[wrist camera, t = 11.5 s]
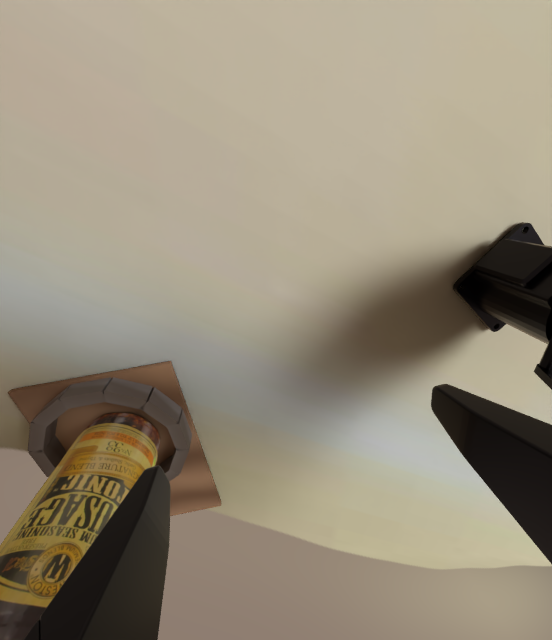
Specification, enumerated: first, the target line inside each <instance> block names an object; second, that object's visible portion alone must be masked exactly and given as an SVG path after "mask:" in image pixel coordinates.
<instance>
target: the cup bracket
mask: <svg viewBox="0 0 552 640" xmlns="http://www.w3.org/2000/svg"><path fill="white" fill-rule="evenodd" d="M8 394H9V395H10V397H11V398H12V399H13V401H14V402H15V404H16V405H17V406H18V408H19V409H20V411H21V412H22V414H23V415H24V416H25V418H26V419H27V421H28V422H29V424H30V433H29V444H28V451H29V454H30V455H31V456H32V458H33V459H34V460H35V462H36V463H37V464H38V466H39V467H40V468H41V470H42V471H43V472H44V474H45V475H46V476H47V477H49V476H50V475H51V474H52V472H53V471H54V470H55V468H56V467H57V466H58V464H59V463H60V461H61V460H62V459H63V457H64V456H65V454H66V453H67V451H68V450H69V449H70V447H71V446H72V444H73V443H74V442H75V440H76V439H77V437H78V436H79V435H80V434H81V433H82V432H83V431H84V430H85V429H86V428H87V427H88V426H89V425H90V424H91V423H92V422H93V421H95V420H96V419H98V418H99V417H101V416H102V415H105V414H107V413H113V412H114V413H121V412H122V413H132V414H137V415H139V416H140V417H144V418H145V419H146V420H148V421H150V422H151V423H152V424H153V425H154V426H155V427H156V429H157V430H158V432H159V434H160V438H161V439H160V442H161V445H160V449H159V453H158V457H157V462H156V465H155V466H158V465H159V466H161V468H162V469H163V471H164V473H165V475H166V476H167V478H168V480H169V482H170V487H171V496H170V516H173V515H178V514H183V513H187V512H192V511H197V510H202V509H207V508H212V507H216V506H221V500H220V497H219V494H218V491H217V488H216V486H215V483H214V480H213V477H212V474H211V472H210V469H209V466H208V463H207V461H206V458H205V455H204V452H203V449H202V447H201V444H200V441H199V438H198V435H197V433H196V430H195V427H194V424H193V421H192V419H191V416H190V413H189V410H188V407H187V405H186V402H185V399H184V396H183V393H182V391H181V388H180V385H179V382H178V379H177V377H176V374H175V371H174V368H173V365H172V363H171V361H167V362H162V363H156V364H151V365H145V366H139V367H134V368H128V369H123V370H117V371H111V372H106V373H100V374H95V375H89V376H84V377H78V378H72V379H67V380H61V381H56V382H50V383H44V384H39V385H33V386H28V387H22V388H16V389H12V390H10V391H9V392H8Z"/></svg>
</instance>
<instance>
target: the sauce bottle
mask: <svg viewBox="0 0 552 640" xmlns="http://www.w3.org/2000/svg"><path fill="white" fill-rule="evenodd" d="M160 439H161V438H160V434H159V432H158V430H157V429H156V427H155V426H154V425H153V424H152V423H151V422H150V421H148V420H146V419H145V418H144V417H140V416H139V415H137V414H132V413H122V412H121V413H114V412H113V413H107V414H105V415H102V416H101V417H99V418H98V419H96V420H95V421H93V422H92V423H91V424H90V425H89V426H88V427H87V428H86V429H85V430H84V431H83V432H82V433H81V434H80V435H79V436H78V437H77V439H76V440H75V442H74V443H73V444H72V446H71V447H70V449H69V450H68V451H67V453H66V454H65V456H64V457H63V459H62V460H61V461H60V463H59V464H58V466H57V467H56V468H55V470H54V471H53V472H52V474H51V475H50V476H49V478H48V479H47V481H46V482H45V483H44V485H43V486H42V488H41V489H40V490H39V492H38V493H37V495H36V496H35V497H34V499H33V500H32V501H31V503H30V504H29V506H28V507H27V509H26V510H25V511H24V513H23V514H22V515H21V517H20V518H19V520H18V521H17V523H16V524H15V525H14V527H13V528H12V529H11V531H10V532H9V534H8V535H7V537H6V538H5V539H4V541H3V542H2V544H1V545H0V640H24V638H25V637H26V635H27V634H28V633H29V631H30V630H31V628H32V627H33V626H34V624H35V623H36V621H38V620H40V616H41V615H42V613H43V612H44V610H45V609H46V608H47V606H48V605H49V603H50V602H51V601H52V599H53V598H54V596H55V595H56V593H57V592H58V591H59V589H60V588H61V586H62V585H63V584H64V582H65V581H66V579H67V578H68V577H69V575H70V574H71V572H72V571H73V570H74V568H75V567H76V565H77V564H78V563H79V561H80V560H81V558H82V557H83V556H84V554H85V553H86V551H87V550H88V548H89V547H90V546H91V544H92V543H93V541H94V540H95V539H96V537H97V536H98V534H99V533H100V532H101V530H102V529H103V527H104V526H105V525H106V523H107V522H108V520H109V519H110V518H111V516H112V515H113V513H114V512H115V511H116V509H117V508H118V506H119V505H120V504H121V502H122V501H123V499H124V498H125V496H126V495H127V494H128V492H129V491H130V489H131V488H132V487H133V485H134V484H135V482H136V481H137V480H138V478H139V477H140V475H141V474H142V473H143V471H144V470H145V469H147V468H150V467H154V466H155V465H156V462H157V457H158V453H159V449H160V445H161V442H160Z"/></svg>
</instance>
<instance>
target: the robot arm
mask: <svg viewBox="0 0 552 640" xmlns="http://www.w3.org/2000/svg"><path fill="white" fill-rule="evenodd" d="M523 228H524V229H523ZM522 229H523V231H522ZM461 285H462V287H461ZM460 287H461V288H460ZM453 289H454V291H455V292H456V293H457V294H458V295H459V297H460V298H461V299H462V300H463V301H464V302H465V303H466V304H467V306H468V307H469V308H470V309H471V310H472V311H473V312H474V313H475V315H476V316H477V317H478V318H479V319H480V320H481V321H482V322H483V324H484V325H485V326H486V327H487V328H488V329H489V330H491V331H493V332H496V331H498V330H500V329H501V328H502V327H503V326H504V325H506V324H508V325H510V326H512V327H514V328H516V329H518V330H520V331H522V332H524V333H526V334H528V335H530V336H532V337H534V338H536V339H538V340H540V341H542V342H544V343H546V344H548V345H547V348H546V350H545V352H544V354H543V357H542V359H541V361H540V363H539V364H537V366H536V368H535V370H534V372H535V373H536V374H537V375H538V376H539V377H540V378H541V379H542V380H543V381H544V382H545V383H546V384H547V385H548V386H549V387H550V388H551V389H552V247H551V246H545V245H544V244H543V242H542V241H541V239H540V238H539V236H538V234H537V233H536V231H535V230H534V228H533V226H532V225H531V224H530V223H523V222H522V223H519V224H518V225H517V226H516V227H515V228H513V229H512V230H511V231H510V232H509V233H508V234H507V235H506V236H505V237H504V238H503V239H502V240H501V241H500V242H498V243H497V244H496V245H495V246H494V247H493V248H492V249H491V250H490V251H489V252H488V253H487V254H486V255H485V256H483V257H482V258H481V259H480V260H479V261H478V262H477V263H476V264H475V265H474V266H473V267H472V268H471V269H470V270H468V271H467V272H466V273H465V274H464V275H463V276H462V277H461V278H460V279H459V280H458V281H457V282H456V283H455V284H454V286H453ZM431 407H432V410H433V412H434V414H435V415H436V417H437V418H438V420H439V421H440V423H441V424H442V426H443V427H444V429H445V430H446V432H447V433H448V435H449V436H450V437H451V439H452V440H453V442H454V443H455V445H456V446H457V448H458V449H459V451H460V452H461V453H462V455H463V456H464V457H465V459H466V460H467V461H468V462H469V464H470V465H471V466H472V467H473V469H474V470H475V471H476V472H477V473H478V475H479V476H480V477H481V478H482V479H483V481H484V482H485V483H486V484H487V486H488V487H489V488H490V489H491V490H492V492H493V493H494V494H495V495H496V497H497V498H498V499H499V500H500V501H501V503H502V504H503V505H504V506H505V508H506V509H507V510H508V511H509V512H510V514H511V515H512V516H513V517H514V519H515V520H516V521H517V522H518V523H519V525H520V526H521V527H522V528H523V530H524V531H525V532H526V533H527V534H528V536H529V537H530V538H531V539H532V540H533V542H534V543H535V544H536V545H537V547H538V548H539V549H540V550H541V551H542V553H543V554H544V555H545V556H546V558H547V559H548V560H549V561H550V562H551V564H552V425H550V424H548V423H545V422H543V421H540V420H538V419H535V418H532V417H530V416H527V415H525V414H522V413H520V412H517V411H515V410H512V409H509V408H507V407H504V406H502V405H499V404H497V403H494V402H492V401H489V400H486V399H484V398H481V397H479V396H476V395H474V394H471V393H469V392H466V391H464V390H461V389H458V388H456V387H453V386H451V385H448V384H442V385H438V386H435V387H434V388H433V390H432V400H431ZM170 496H171V487H170V482H169V480H168V478H167V476H166V475H165V473H164V471H163V469H162V468H161V466H159V465H158V466H154V467H150V468H147V469H145V470H144V471H143V473H142V474H141V475H140V477H139V478H138V480H137V481H136V482H135V484H134V485H133V487H132V488H131V489H130V491H129V492H128V494H127V495H126V496H125V498H124V499H123V501H122V502H121V504H120V505H119V506H118V508H117V509H116V511H115V512H114V513H113V515H112V516H111V518H110V519H109V520H108V522H107V523H106V525H105V526H104V527H103V529H102V530H101V532H100V533H99V534H98V536H97V537H96V539H95V540H94V541H93V543H92V544H91V546H90V547H89V548H88V550H87V551H86V553H85V554H84V556H83V557H82V558H81V560H80V561H79V563H78V564H77V565H76V567H75V568H74V570H73V571H72V572H71V574H70V575H69V577H68V578H67V579H66V581H65V582H64V584H63V585H62V586H61V588H60V589H59V591H58V592H57V593H56V595H55V596H54V598H53V599H52V601H51V602H50V603H49V605H48V606H47V608H46V609H45V610H44V612H43V613H42V615H41V616H40V620H38V621H36V623H35V624H34V626H33V627H32V628H31V630H30V631H29V633H28V634H27V635H26V637H25V638H24V640H157V639H158V631H159V622H160V615H161V606H162V599H163V590H164V583H165V575H166V567H167V559H168V549H169V532H170Z"/></svg>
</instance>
